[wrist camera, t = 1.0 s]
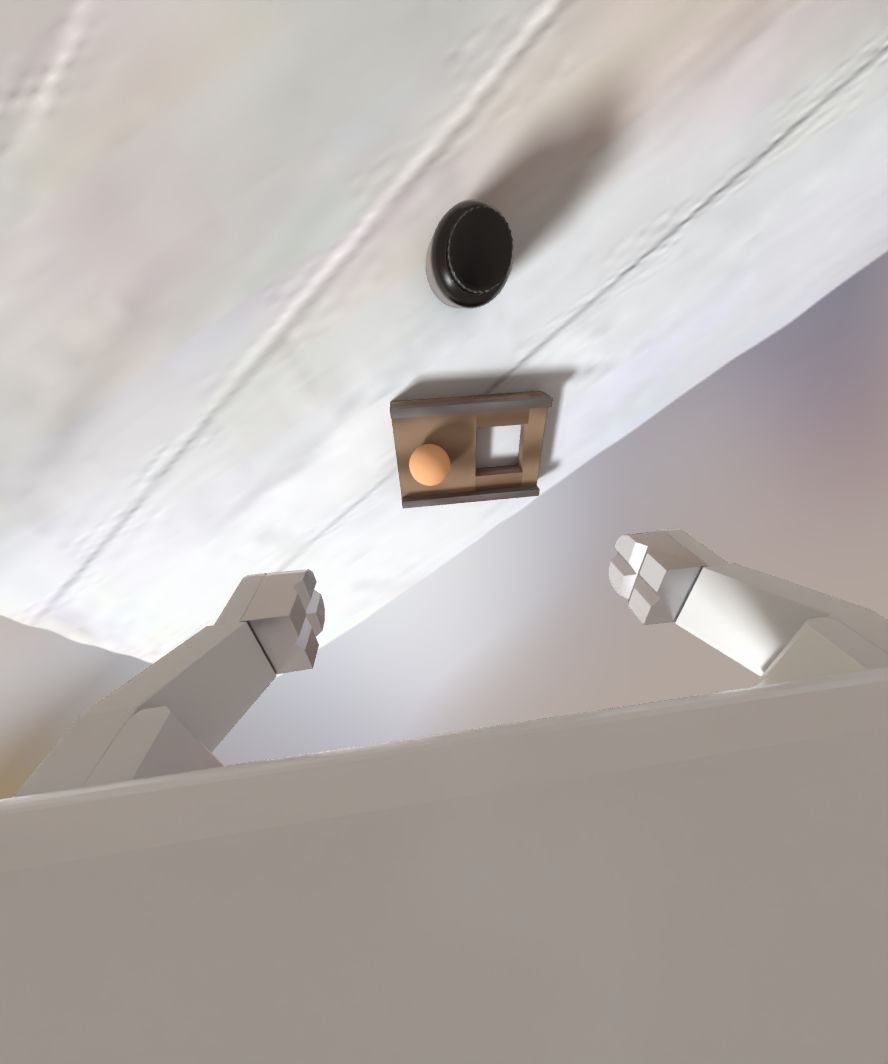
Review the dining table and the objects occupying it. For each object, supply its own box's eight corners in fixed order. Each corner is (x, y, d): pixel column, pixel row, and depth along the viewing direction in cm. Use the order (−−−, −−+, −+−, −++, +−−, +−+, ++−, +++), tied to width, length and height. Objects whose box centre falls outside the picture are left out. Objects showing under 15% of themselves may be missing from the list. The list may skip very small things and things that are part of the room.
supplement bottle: (484, 211, 31) (524, 168, 21) (495, 296, 35) (533, 294, 25) (415, 234, 31) (423, 203, 22) (434, 316, 35) (448, 321, 26)
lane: (390, 401, 40) (389, 409, 37) (541, 391, 41) (552, 397, 38) (402, 495, 47) (402, 508, 44) (529, 483, 49) (538, 495, 46)
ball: (406, 439, 40) (407, 455, 36) (446, 436, 40) (452, 451, 36) (410, 476, 43) (412, 494, 39) (448, 473, 43) (453, 491, 39)
